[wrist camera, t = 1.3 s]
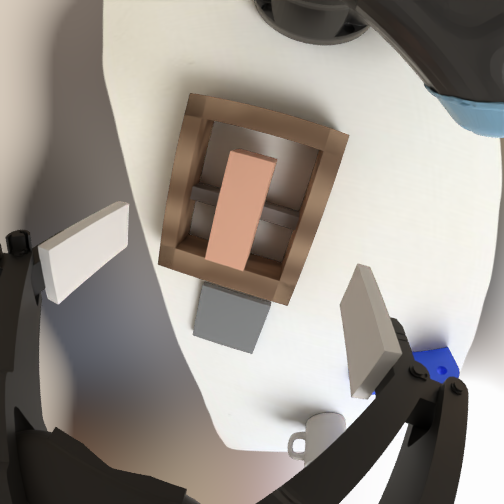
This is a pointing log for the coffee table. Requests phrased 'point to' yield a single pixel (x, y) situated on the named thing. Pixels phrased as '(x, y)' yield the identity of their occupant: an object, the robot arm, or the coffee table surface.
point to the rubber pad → (230, 317)
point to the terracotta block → (239, 207)
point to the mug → (317, 435)
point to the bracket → (438, 364)
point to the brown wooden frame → (303, 222)
